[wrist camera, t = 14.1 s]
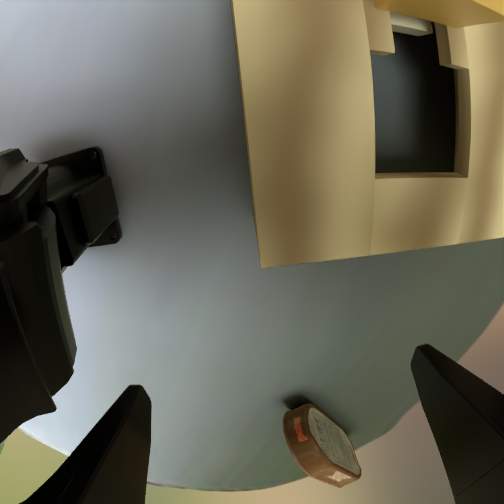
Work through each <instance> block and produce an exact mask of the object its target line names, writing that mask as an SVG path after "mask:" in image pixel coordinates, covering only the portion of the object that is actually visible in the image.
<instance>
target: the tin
mask: <svg viewBox="0 0 504 504" xmlns="http://www.w3.org/2000/svg"><path fill="white" fill-rule="evenodd" d="M283 429H284V434H285V438H286V442H287V444H288V447H289V449H290V451H291V453H292V455H293V457H294V459H295V461H296V462H297V464H298V465H299V466H300V468H301V469H302V470H303V471H304V472H305V473H306V474H307V475H309V476H310V477H312V478H315V479H317V480H320V481H322V482H325V483H328V484H330V485H333V486H335V487H338V488H341V487H343V486H344V485H347V484H349V483H351V482H354V481H356V480H358V479H359V478H360V476H361V468H360V466H359V464H358V461H357V458H356V455H355V452H354V448H353V445H352V443H351V441H350V439H349V438H348V436H347V435H346V433H345V432H344V431H343V429H342V428H341V427H340V426H338V425H337V424H336V423H335V422H334V421H333V420H332V419H330V418H329V417H328V416H327V415H326V414H325V413H324V412H322V411H321V410H320V409H319V408H318V407H316V406H315V405H314V404H311V403H307V404H304V405H302V406H300V407H298V408H296V409H294V410H291V411H287V412H286V413H285V414H284V418H283Z"/></svg>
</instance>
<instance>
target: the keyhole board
mask: <svg viewBox="0 0 504 504" xmlns="http://www.w3.org/2000/svg"><path fill="white" fill-rule="evenodd" d="M230 1H231V10H232V19H233V28H234V37H235V46H236V55H237V64H238V73H239V82H240V91H241V100H242V110H243V119H244V128H245V137H246V147H247V156H248V166H249V175H250V185H251V194H252V204H253V214H254V222H255V229H256V236H257V243H258V250H259V257H260V264H261V268H267V267H276V266H285V265H294V264H303V263H312V262H320V261H329V260H337V259H345V258H353V257H362V256H370V255H378V254H385V253H393V252H401V251H409V250H416V249H424V248H431V247H439V246H446V245H453V244H460V243H467V242H474V241H481V240H488V239H495V238H502V237H504V22H495V23H487V24H479V25H473V26H466V27H461V28H452V27H449V26H446V25H443V24H439V23H436V22H434V24H435V30H436V37H437V45H438V53H439V63H440V65H442V66H446V67H450V68H454V82H455V106H456V133H455V158H454V172H453V173H448V172H405V173H375V116H374V95H373V81H372V68H371V58H370V54H376V55H389V54H393V53H395V48H394V40H393V33H392V26H391V19H390V13H389V11H384V10H378V9H376V6H375V1H374V0H230Z"/></svg>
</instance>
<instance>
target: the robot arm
mask: <svg viewBox="0 0 504 504" xmlns="http://www.w3.org/2000/svg"><path fill="white" fill-rule="evenodd" d="M93 151H94V152H96V158H94V157H93V156H92V152H93ZM118 214H119V212H118V208H117V204H116V200H115V196H114V192H113V188H112V183H111V179H110V177H109V176H108V175H107V173H106V168H105V163H104V158H103V153H102V150H101V149H100V148H99V147H97V146H94V147H91V148H87V149H83V150H80V151H77V152H73V153H70V154H67V155H64V156H60V157H57V158H54V159H51V160H48V161H45V162H42V163H39V164H37V163H31V162H28V159H25V157H24V156H23V154H22V153H21V151H20V150H19V149H8V150H5V151H2V152H0V444H1V443H2V442H3V441H4V440H5V439H6V438H7V437H8V436H9V435H10V434H11V433H12V432H13V431H14V430H15V429H16V428H17V427H19V426H20V425H21V424H22V423H24V422H26V421H28V420H30V419H32V418H34V417H36V416H39V415H43V414H47V413H52V412H55V411H56V409H57V408H56V405H55V403H54V401H53V399H52V396H54V395H55V394H56V393H57V392H58V391H59V390H60V389H61V388H62V387H63V386H64V385H66V384H67V382H68V381H69V379H70V378H71V376H72V375H73V373H74V369H73V365H74V361H75V356H76V351H77V347H76V342H75V337H74V332H73V328H72V324H71V319H70V315H69V310H68V305H67V300H66V295H65V289H64V284H63V278H62V273H63V272H64V271H65V269H66V268H67V267H68V266H71V265H73V264H74V263H75V262H76V261H77V259H78V258H79V257H80V256H81V255H82V253H83V252H84V251H85V250H86V249H87V248H88V247H94V246H101V245H108V244H115V243H118V241H119V240H120V239H121V237H122V233H121V230H120V226H119V222H118V219H117V216H118ZM112 233H114V234H115V235H116V238H114V237H113V236H112ZM411 370H412V373H413V376H414V380H415V383H416V387H417V390H418V394H419V397H420V401H421V403H422V407H423V410H424V412H425V415H426V417H427V420H428V422H429V425H430V427H431V430H432V433H433V436H434V438H435V441H436V444H437V446H438V449H439V452H440V455H441V458H442V461H443V464H444V467H445V470H446V473H447V476H448V479H449V482H450V486H451V489H452V492H453V496H454V500H455V503H456V504H504V394H501V392H499V391H498V390H496V389H495V388H493V387H492V386H490V385H489V384H488V383H486V382H484V381H483V380H482V379H480V378H479V377H477V376H476V375H474V374H473V373H471V372H470V371H468V370H467V369H465V368H464V367H462V366H461V365H459V364H458V363H456V362H455V361H453V360H452V359H450V358H449V357H447V356H446V355H444V354H443V353H441V352H440V351H438V350H437V349H435V348H434V347H432V346H431V345H429V344H423V345H420V346H417V347H416V349H415V352H414V355H413V358H412V361H411ZM150 447H151V400H150V398H149V396H148V394H147V393H146V391H145V389H144V388H143V386H141V385H129V386H128V387H127V388H126V389H125V391H124V392H123V393H122V394H121V395H120V396H119V398H118V399H117V400H116V401H115V402H114V404H113V405H112V406H111V407H110V408H109V409H108V411H107V412H106V413H105V414H104V415H103V417H102V418H101V419H100V420H99V421H98V422H97V424H96V425H95V426H94V427H93V428H92V430H91V431H90V432H89V433H88V434H87V435H86V437H85V438H84V439H83V440H82V441H81V443H80V444H79V445H78V446H77V447H76V449H75V450H74V451H73V452H72V453H71V455H70V456H69V457H68V458H67V459H66V460H65V462H64V463H63V464H62V465H61V466H60V467H59V469H58V470H57V471H56V472H55V473H54V474H53V475H52V476H51V477H50V478H49V479H48V480H47V481H46V482H45V483H44V484H43V485H42V486H41V487H39V488H38V489H37V491H35V492H34V493H33V494H32V495H31V496H30V497H29V498H27V499H26V500H25V501H23V502H21V503H19V504H145V495H146V484H147V474H148V465H149V456H150Z"/></svg>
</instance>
